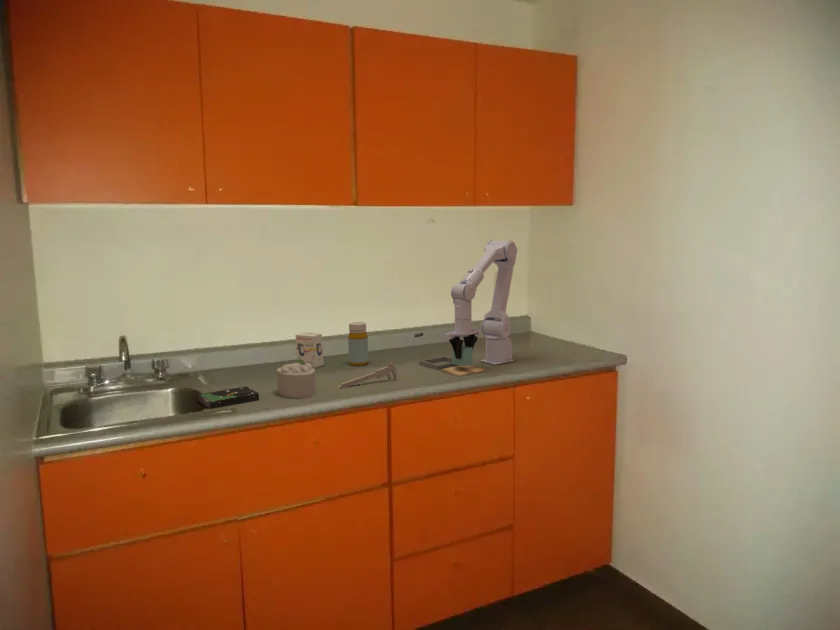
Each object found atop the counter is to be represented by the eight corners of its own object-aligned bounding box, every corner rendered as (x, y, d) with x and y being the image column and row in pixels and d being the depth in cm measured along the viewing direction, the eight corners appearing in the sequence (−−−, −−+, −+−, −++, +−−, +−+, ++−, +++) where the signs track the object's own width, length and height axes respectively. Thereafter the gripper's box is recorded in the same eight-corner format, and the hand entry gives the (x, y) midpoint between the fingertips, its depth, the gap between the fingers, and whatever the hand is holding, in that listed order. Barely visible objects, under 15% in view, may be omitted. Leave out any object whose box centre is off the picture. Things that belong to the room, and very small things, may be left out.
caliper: (395, 379, 213) (394, 361, 212) (396, 380, 212) (396, 361, 211) (337, 388, 203) (336, 369, 202) (338, 389, 202) (338, 369, 201)
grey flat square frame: (445, 360, 240) (445, 356, 240) (464, 365, 231) (464, 361, 231) (419, 364, 233) (419, 360, 233) (438, 370, 224) (438, 365, 224)
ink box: (324, 365, 234) (323, 333, 233) (315, 368, 230) (314, 335, 228) (304, 363, 238) (303, 331, 236) (296, 366, 233) (294, 334, 232)
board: (467, 365, 230) (467, 364, 230) (486, 370, 222) (486, 369, 222) (440, 370, 223) (440, 369, 223) (459, 376, 215) (459, 374, 215)
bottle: (354, 367, 231) (353, 325, 229) (345, 363, 237) (344, 323, 234) (371, 364, 235) (370, 323, 232) (362, 361, 240) (361, 321, 238)
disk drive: (246, 394, 198) (198, 402, 190) (246, 386, 198) (197, 393, 189) (259, 402, 190) (209, 410, 181) (259, 392, 190) (209, 401, 181)
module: (461, 361, 226) (460, 345, 225) (472, 364, 221) (472, 347, 220) (452, 363, 224) (452, 346, 223) (463, 366, 219) (463, 348, 218)
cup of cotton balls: (304, 386, 206) (303, 359, 204) (323, 394, 195) (322, 366, 194) (273, 391, 200) (272, 364, 198) (291, 400, 189) (290, 371, 188)
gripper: (471, 315, 227) (471, 353, 229) (439, 319, 219) (439, 358, 221) (485, 317, 222) (485, 356, 224) (452, 321, 213) (452, 362, 215)
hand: (463, 357), depth 222 cm, fingers closed on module, 4 cm apart
